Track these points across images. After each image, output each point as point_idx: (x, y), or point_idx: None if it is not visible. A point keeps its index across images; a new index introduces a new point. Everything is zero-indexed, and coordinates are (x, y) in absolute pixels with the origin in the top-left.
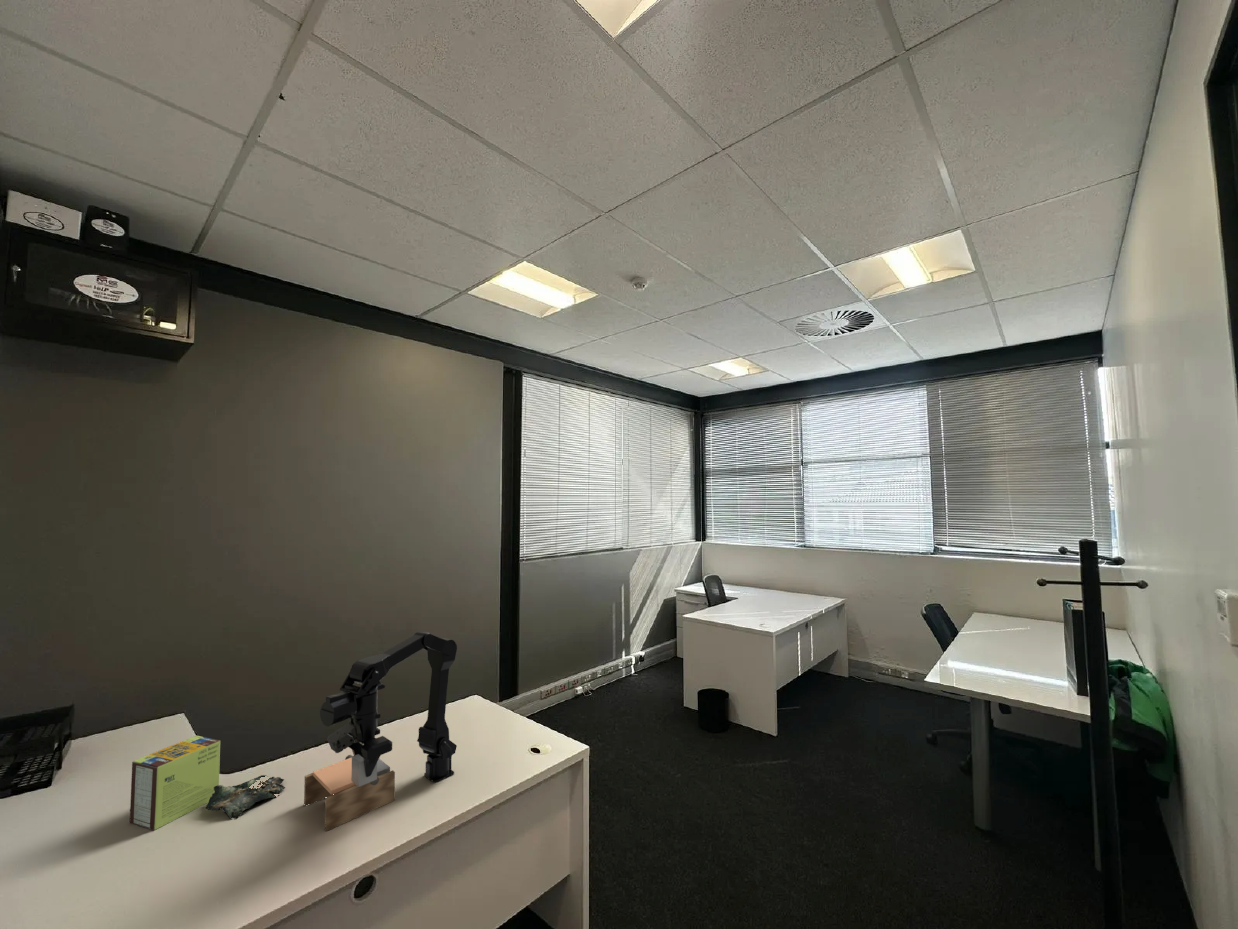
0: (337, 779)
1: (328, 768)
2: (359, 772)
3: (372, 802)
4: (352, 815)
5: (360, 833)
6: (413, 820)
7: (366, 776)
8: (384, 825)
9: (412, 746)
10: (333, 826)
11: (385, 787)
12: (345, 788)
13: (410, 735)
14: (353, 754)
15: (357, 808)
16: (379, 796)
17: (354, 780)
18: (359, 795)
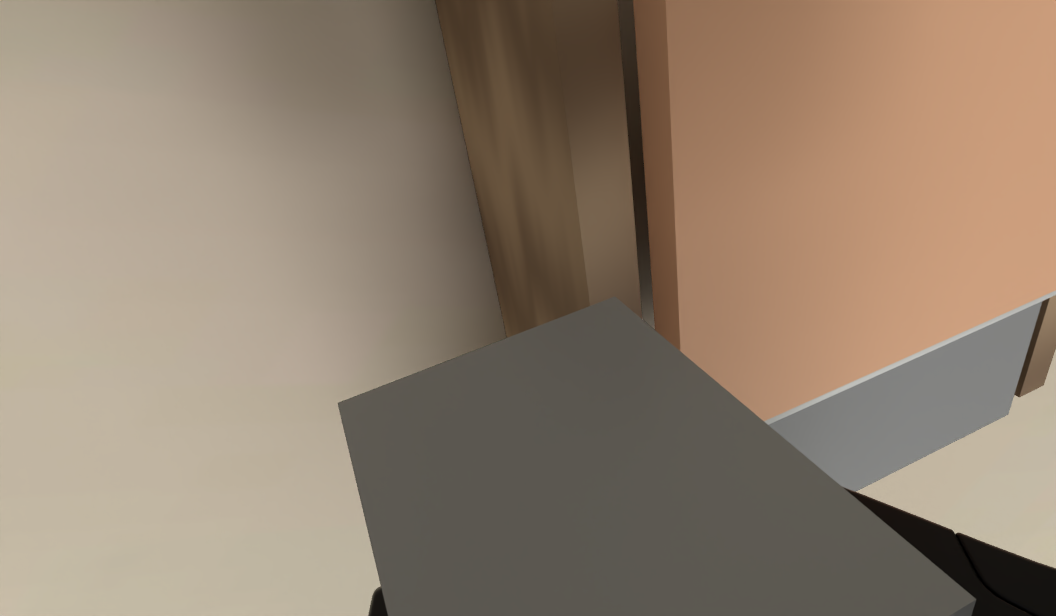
0: (869, 113)
1: None
2: (389, 608)
3: None
4: (480, 177)
5: (203, 212)
6: (181, 562)
7: (378, 596)
8: (226, 387)
9: (948, 490)
10: (438, 4)
11: None
12: (649, 182)
13: (1029, 475)
14: (1041, 570)
15: (503, 229)
16: None
17: (523, 361)
18: (548, 286)
